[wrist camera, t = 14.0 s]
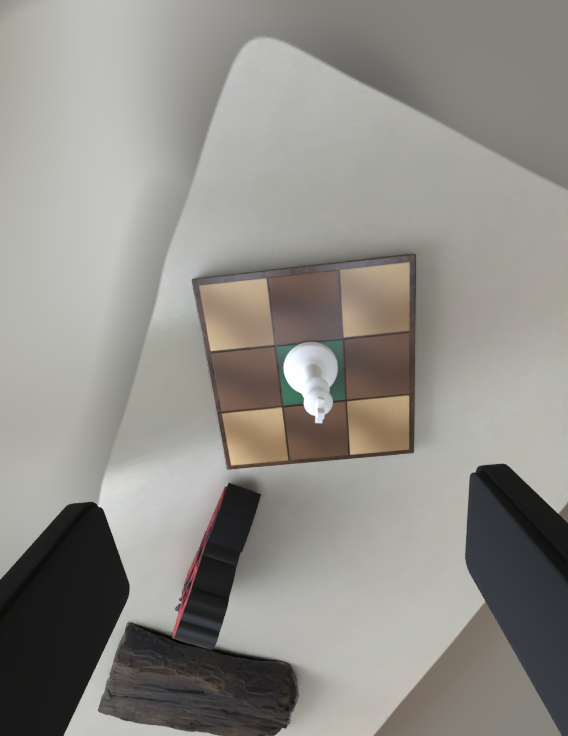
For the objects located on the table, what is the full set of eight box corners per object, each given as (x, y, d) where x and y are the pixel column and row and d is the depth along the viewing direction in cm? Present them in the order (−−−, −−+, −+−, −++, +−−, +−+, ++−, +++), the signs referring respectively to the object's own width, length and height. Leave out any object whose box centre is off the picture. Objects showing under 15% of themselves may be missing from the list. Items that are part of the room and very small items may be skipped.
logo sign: (232, 469, 36) (209, 557, 25) (262, 480, 36) (252, 571, 26) (182, 587, 41) (145, 701, 31) (209, 595, 42) (182, 711, 31)
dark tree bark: (127, 618, 43) (107, 690, 48) (112, 651, 40) (91, 725, 44) (310, 667, 45) (274, 732, 50) (311, 703, 42) (273, 769, 46)
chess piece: (340, 343, 30) (364, 381, 21) (334, 394, 32) (354, 451, 22) (285, 339, 30) (284, 376, 21) (282, 391, 32) (280, 447, 22)
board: (194, 278, 30) (190, 279, 29) (411, 254, 29) (417, 253, 28) (228, 463, 36) (226, 471, 34) (410, 446, 35) (415, 454, 34)
